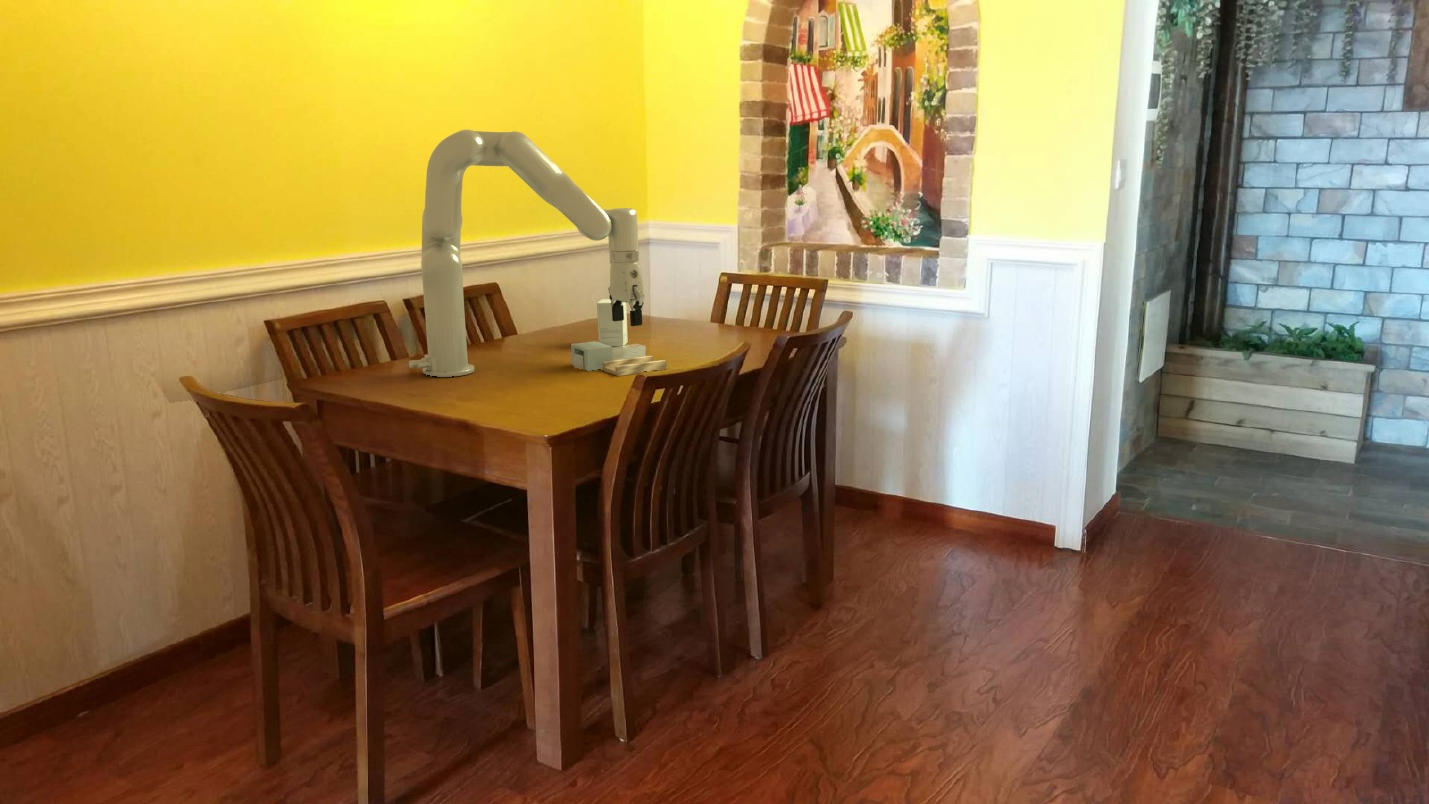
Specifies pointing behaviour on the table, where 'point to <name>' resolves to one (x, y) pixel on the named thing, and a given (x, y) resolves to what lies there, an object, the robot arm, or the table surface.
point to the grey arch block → (592, 354)
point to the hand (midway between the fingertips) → (627, 323)
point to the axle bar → (615, 354)
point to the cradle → (633, 365)
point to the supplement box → (611, 325)
